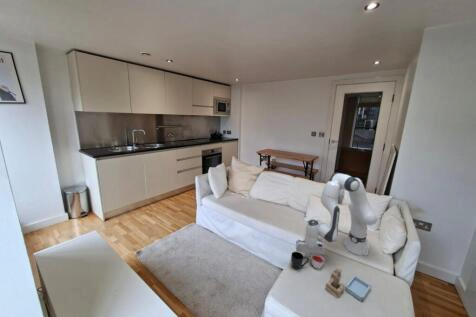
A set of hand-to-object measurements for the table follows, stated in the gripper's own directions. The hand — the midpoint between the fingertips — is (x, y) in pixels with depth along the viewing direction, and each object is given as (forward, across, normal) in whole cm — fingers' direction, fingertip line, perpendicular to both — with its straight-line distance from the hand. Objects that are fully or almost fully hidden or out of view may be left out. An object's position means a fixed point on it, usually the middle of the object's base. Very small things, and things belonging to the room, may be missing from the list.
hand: (308, 256), depth 148 cm
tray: (+3, +26, -21) cm, 34 cm away
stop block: (+3, +15, -14) cm, 21 cm away
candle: (+3, +5, -5) cm, 7 cm away
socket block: (+3, +12, -24) cm, 27 cm away
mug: (+3, -8, -9) cm, 12 cm away
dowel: (+3, +12, -24) cm, 27 cm away
